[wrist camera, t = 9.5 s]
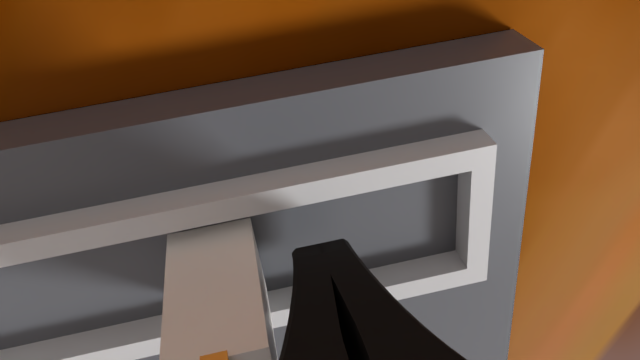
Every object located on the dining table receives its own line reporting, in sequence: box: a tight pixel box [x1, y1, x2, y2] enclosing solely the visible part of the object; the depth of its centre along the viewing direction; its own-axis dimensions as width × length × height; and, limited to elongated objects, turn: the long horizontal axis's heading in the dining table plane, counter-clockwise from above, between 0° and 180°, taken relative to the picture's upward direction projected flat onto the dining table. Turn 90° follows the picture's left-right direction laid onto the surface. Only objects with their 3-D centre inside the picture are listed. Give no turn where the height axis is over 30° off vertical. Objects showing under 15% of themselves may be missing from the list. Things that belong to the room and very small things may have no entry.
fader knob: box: [159, 218, 278, 360], centre depth 12 cm, size 2×2×4 cm
